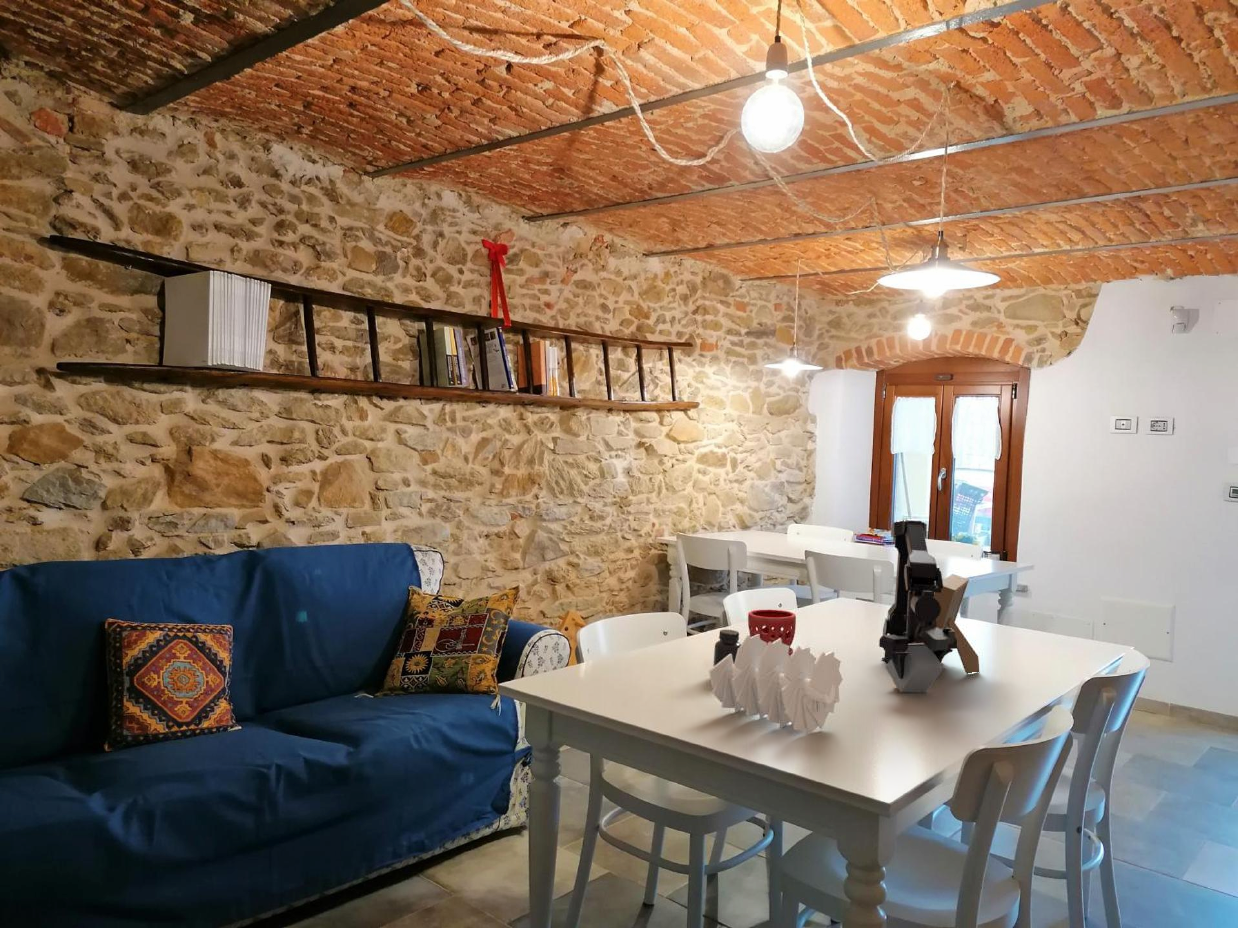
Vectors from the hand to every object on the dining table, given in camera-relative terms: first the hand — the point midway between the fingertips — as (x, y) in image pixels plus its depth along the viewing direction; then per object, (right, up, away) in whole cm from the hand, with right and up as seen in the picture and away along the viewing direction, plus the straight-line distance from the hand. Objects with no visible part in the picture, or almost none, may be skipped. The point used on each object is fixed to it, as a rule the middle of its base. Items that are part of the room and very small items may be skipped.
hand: (917, 677), depth 204 cm
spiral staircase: (-38, -4, -24) cm, 45 cm away
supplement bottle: (-45, -2, +7) cm, 45 cm away
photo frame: (+15, -4, +20) cm, 26 cm away
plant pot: (-30, -2, +32) cm, 44 cm away
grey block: (-1, -2, +4) cm, 4 cm away
